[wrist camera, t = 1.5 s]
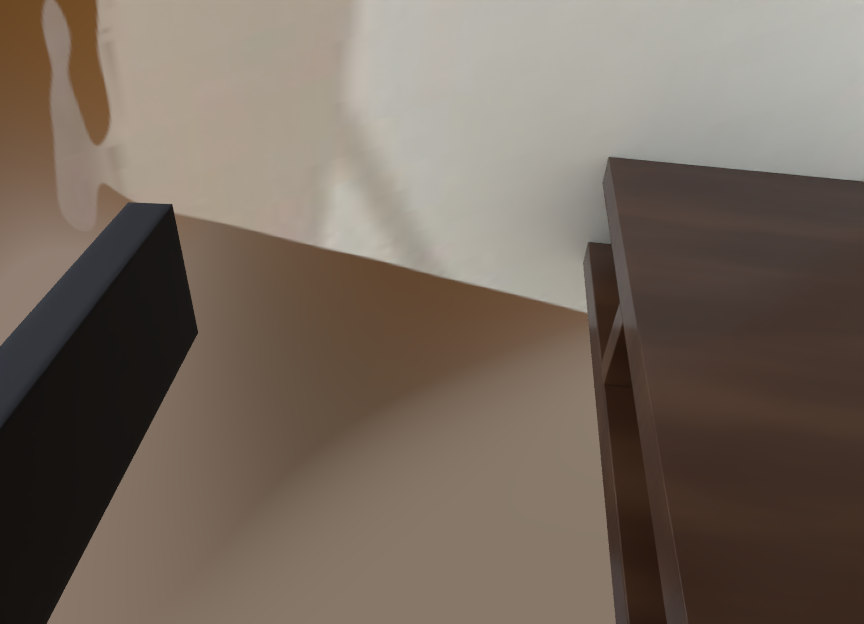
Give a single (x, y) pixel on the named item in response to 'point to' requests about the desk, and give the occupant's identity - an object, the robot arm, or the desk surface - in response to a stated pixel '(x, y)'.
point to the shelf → (730, 394)
